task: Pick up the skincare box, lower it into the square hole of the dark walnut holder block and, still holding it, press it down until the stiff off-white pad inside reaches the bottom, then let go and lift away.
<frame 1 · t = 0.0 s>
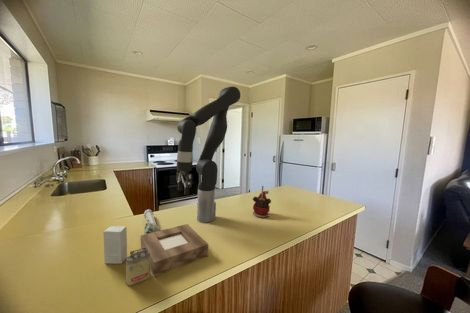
hand: (183, 192, 99), 17 cm above the countertop, tool pointing down, fingers open, 8 cm apart
mouse candy apple: (260, 215, 118), on the countertop
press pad: (173, 243, 77), point 3 cm above the countertop, slide at 0.0 cm
white flashlight: (144, 219, 96), point 4 cm above the countertop
beige logo box: (138, 279, 63), on the countertop
skincare box: (116, 260, 71), on the countertop
holder block: (173, 251, 78), on the countertop
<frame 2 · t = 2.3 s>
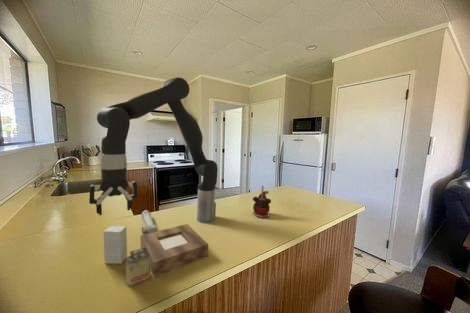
hand: (114, 211, 69), 18 cm above the countertop, tool pointing down, fingers open, 8 cm apart
white flashlight: (141, 223, 95), point 2 cm above the countertop
everything else where it was.
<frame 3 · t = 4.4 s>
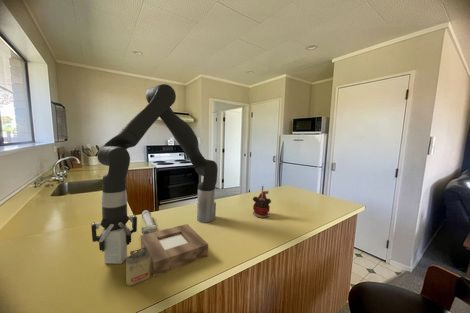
hand: (115, 246, 70), 5 cm above the countertop, tool pointing down, fingers closed on skincare box, 7 cm apart
skincare box: (116, 260, 71), on the countertop, touching gripper
everything else where it was.
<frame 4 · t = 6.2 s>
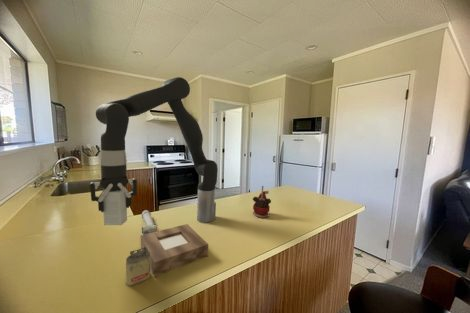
hand: (115, 209, 69), 19 cm above the countertop, tool pointing down, fingers closed on skincare box, 7 cm apart
skincare box: (115, 223, 70), point 14 cm above the countertop, touching gripper
everything else where it was.
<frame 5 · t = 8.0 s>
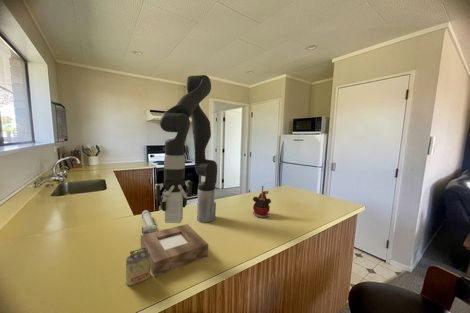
hand: (173, 208, 76), 18 cm above the countertop, tool pointing down, fingers closed on skincare box, 7 cm apart
skincare box: (173, 221, 76), point 12 cm above the countertop, touching gripper
everything else where it was.
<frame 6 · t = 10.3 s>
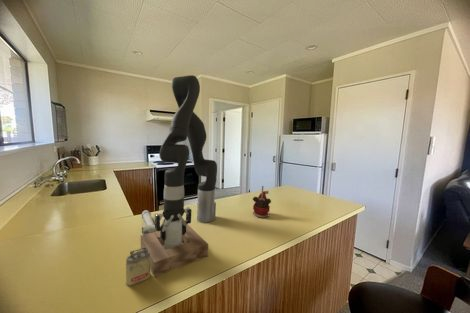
hand: (173, 236, 77), 6 cm above the countertop, tool pointing down, fingers closed on skincare box, 7 cm apart
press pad: (173, 249, 78), point 1 cm above the countertop, slide at 2.8 cm, touching skincare box
skincare box: (173, 249, 78), point 1 cm above the countertop, touching gripper, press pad
everything else where it was.
when the fingers open (6 cm above the countertop, at t = 11.6 s): skincare box stays where it is, resting on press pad.
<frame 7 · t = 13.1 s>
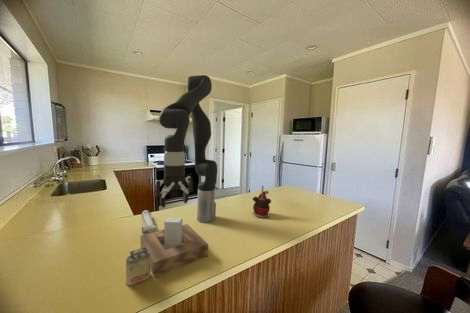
hand: (174, 204, 76), 19 cm above the countertop, tool pointing down, fingers open, 8 cm apart
skincare box: (173, 249, 78), point 1 cm above the countertop, touching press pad
everything else where it was.
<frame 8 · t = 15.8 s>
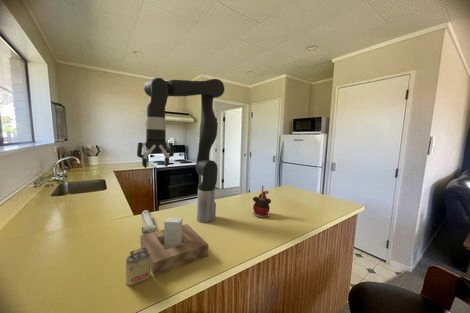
hand: (156, 166, 83), 32 cm above the countertop, tool pointing down, fingers open, 8 cm apart
nothing on the countertop moved.
at the end: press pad slide at 2.8 cm; skincare box 0.1 cm from the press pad (horizontally); skincare box tilted 0° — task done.
